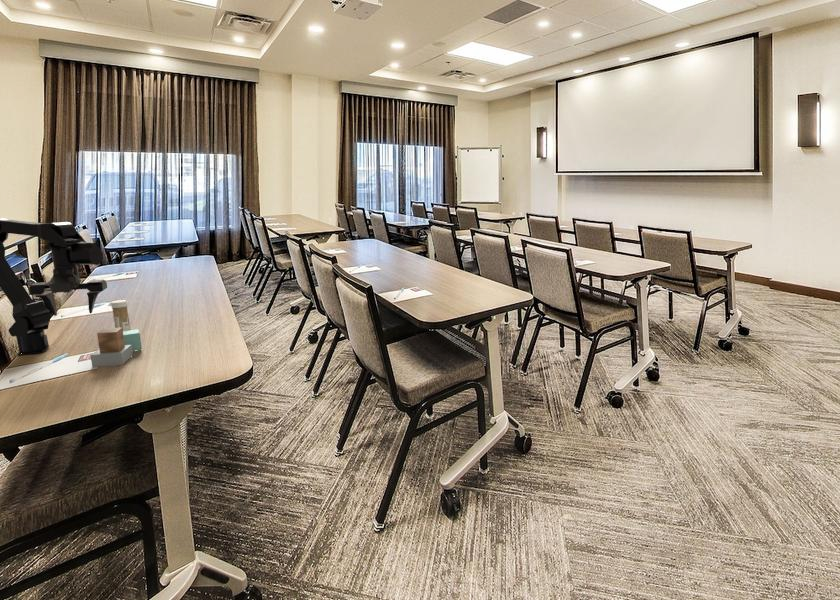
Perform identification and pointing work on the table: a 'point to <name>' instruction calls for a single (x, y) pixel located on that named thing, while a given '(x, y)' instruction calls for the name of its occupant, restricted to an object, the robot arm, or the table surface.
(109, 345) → the walnut block
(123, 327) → the sprinkles bottle
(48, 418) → the table surface
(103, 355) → the grey slab
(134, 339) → the teal block
